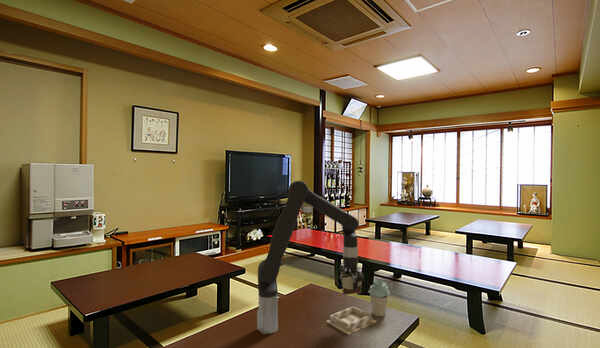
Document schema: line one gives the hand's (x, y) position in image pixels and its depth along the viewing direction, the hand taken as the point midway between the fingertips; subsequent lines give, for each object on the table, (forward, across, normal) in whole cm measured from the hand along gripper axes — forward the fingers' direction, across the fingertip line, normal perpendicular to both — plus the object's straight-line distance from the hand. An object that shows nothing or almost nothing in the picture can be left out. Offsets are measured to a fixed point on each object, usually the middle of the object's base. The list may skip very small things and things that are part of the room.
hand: (350, 287), depth 159 cm
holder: (+17, 0, 0) cm, 17 cm away
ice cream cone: (+18, +3, +18) cm, 25 cm away
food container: (+2, -1, 0) cm, 3 cm away
